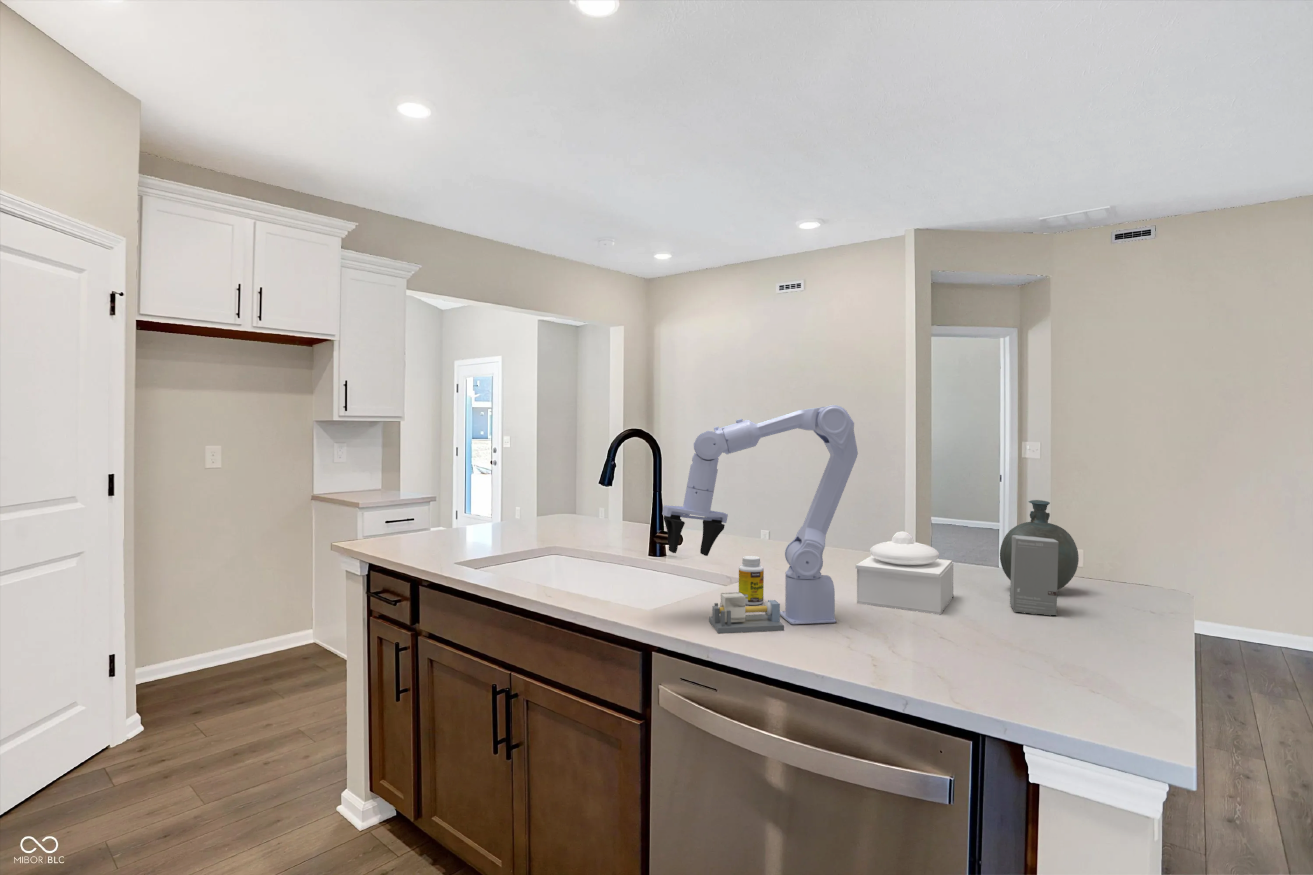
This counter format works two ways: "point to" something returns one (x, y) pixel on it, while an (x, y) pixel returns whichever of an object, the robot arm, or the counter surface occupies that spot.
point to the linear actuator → (748, 619)
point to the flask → (1043, 530)
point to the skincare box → (1034, 575)
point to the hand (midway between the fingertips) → (688, 553)
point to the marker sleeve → (734, 606)
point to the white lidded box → (905, 576)
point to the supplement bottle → (751, 580)
